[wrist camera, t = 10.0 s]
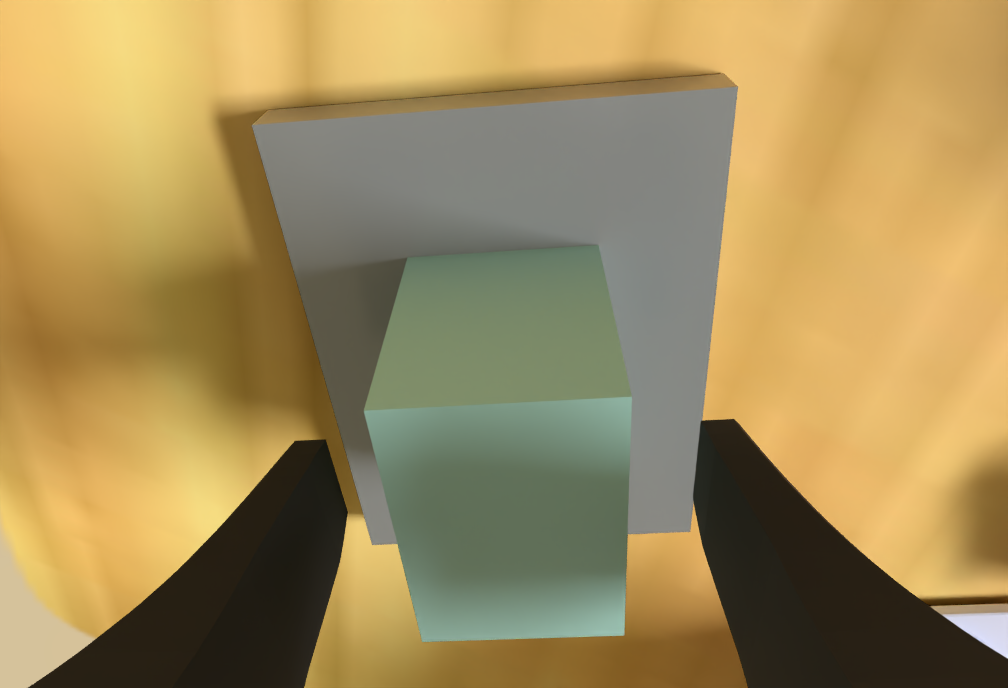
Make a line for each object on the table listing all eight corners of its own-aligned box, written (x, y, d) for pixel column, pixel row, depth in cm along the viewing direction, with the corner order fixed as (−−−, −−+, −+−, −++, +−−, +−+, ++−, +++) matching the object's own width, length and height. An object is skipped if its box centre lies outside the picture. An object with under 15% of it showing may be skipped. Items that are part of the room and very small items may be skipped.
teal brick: (599, 456, 18) (624, 635, 13) (444, 464, 18) (422, 641, 14) (598, 245, 14) (632, 397, 10) (407, 257, 14) (363, 411, 10)
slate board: (682, 504, 20) (690, 531, 19) (378, 517, 20) (372, 544, 20) (724, 73, 13) (737, 86, 12) (267, 109, 14) (251, 125, 13)
